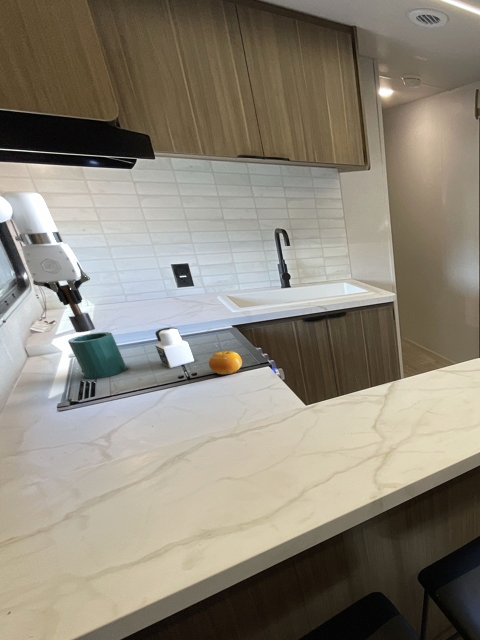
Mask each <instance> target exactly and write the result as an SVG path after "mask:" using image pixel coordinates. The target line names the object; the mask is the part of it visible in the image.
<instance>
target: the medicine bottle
mask: <svg viewBox="0 0 480 640" xmlns="http://www.w3.org/2000/svg"><path fill="white" fill-rule="evenodd" d="M155 337H156V339H157V341H158V343H155V344H154V346H155V349H156V351H157V354H158V356H159V359H160V361H161V363H162V365H164V366H166V367H168V368H170V369H172V368H175V367H179V366H183V365H187V364H190V363H194V362H195V359H194V356H193V353H192V350H191V348H190V345H189V343H188V342H189V341H188V342H187V341H186V340H183V339H182V336H181V334H180V331H179V329H178V328H177V327H171V326H170V327H164V328H160V329H158V330H156V331H155Z"/></svg>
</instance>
